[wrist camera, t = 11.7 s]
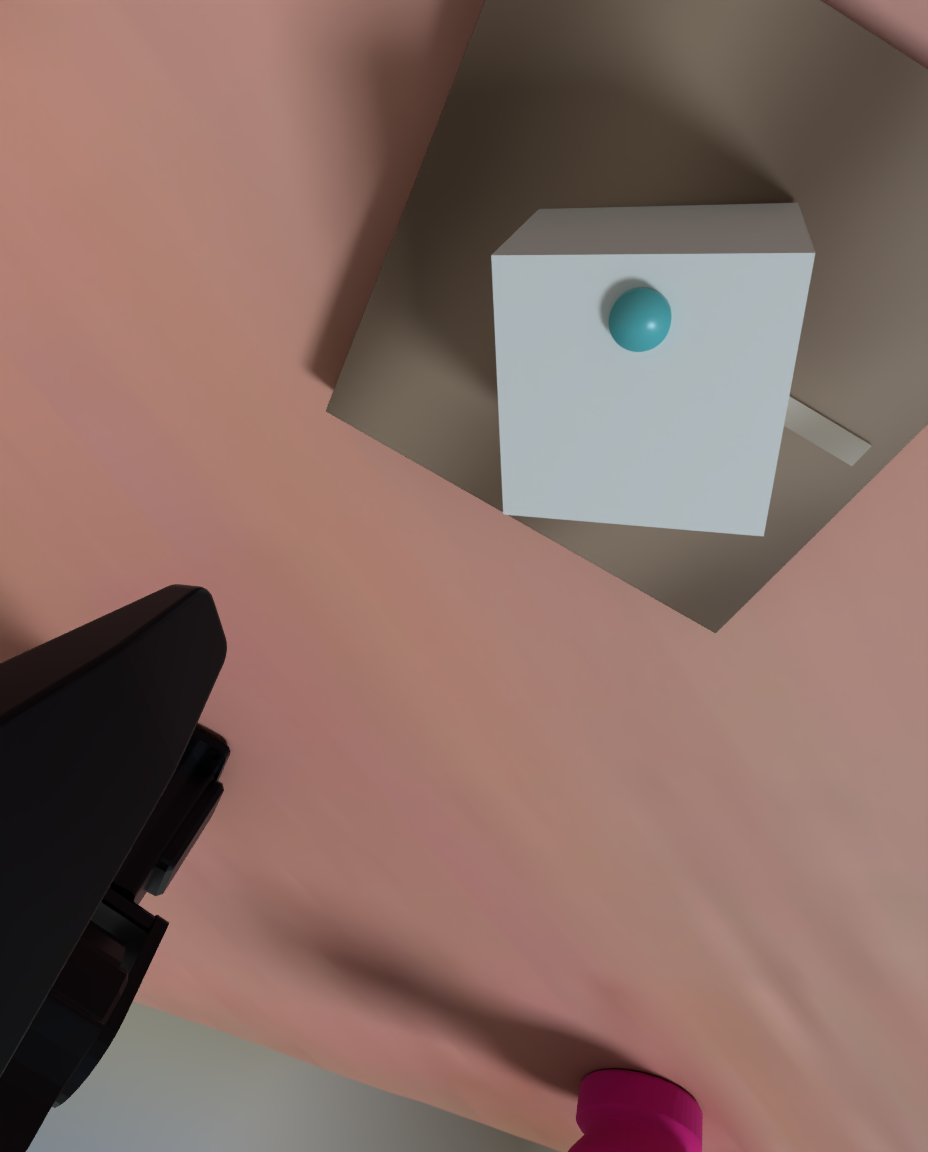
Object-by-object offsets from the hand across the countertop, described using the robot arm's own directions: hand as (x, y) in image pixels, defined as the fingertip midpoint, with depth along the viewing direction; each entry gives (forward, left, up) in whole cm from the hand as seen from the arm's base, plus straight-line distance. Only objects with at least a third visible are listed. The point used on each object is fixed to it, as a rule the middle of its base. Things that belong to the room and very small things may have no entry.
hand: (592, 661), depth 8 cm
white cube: (0, 0, -11) cm, 11 cm away
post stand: (0, 0, -12) cm, 12 cm away
